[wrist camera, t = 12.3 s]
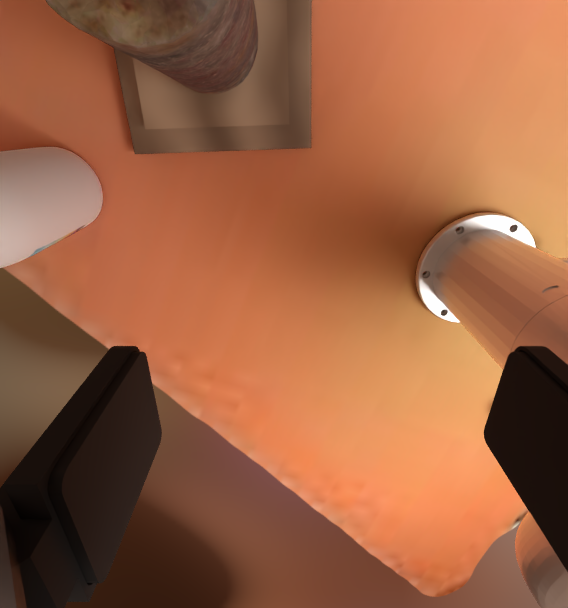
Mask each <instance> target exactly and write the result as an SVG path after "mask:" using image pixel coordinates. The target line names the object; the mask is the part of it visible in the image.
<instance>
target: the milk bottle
mask: <svg viewBox="0 0 568 608" xmlns="http://www.w3.org/2000/svg"><path fill="white" fill-rule="evenodd" d="M102 203H103V192H102V187H101V184H100V182H99V179H98V177H97V175H96V174H95V172H94V170H93V169H92V168H91V167H90V166H89V164H87V163H86V162H85V161H84V160H83V159H82V158H81V157H79V156H78V155H76V154H74V153H73V152H71V151H68V150H66V149H63V148H59V147H37V148H27V149H18V150H10V151H1V152H0V268H2V267H6V266H9V265H12V264H15V263H18V262H20V261H22V260H24V259H26V258H28V257H30V256H32V255H34V254H36V253H38V252H40V251H42V250H44V249H46V248H48V247H50V246H51V245H53V244H55V243H57V242H59V241H61V240H63V239H64V238H66V237H68V236H70V235H72V234H73V233H75V232H77V231H79V230H81V229H82V228H84V227H86V226H87V225H89V224H90V223H92V222H93V221H94V220H95V219H96V218H97V216H98V215H99V213H100V211H101V208H102Z"/></svg>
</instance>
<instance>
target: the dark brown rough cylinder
mask: <svg viewBox="0 0 568 608" xmlns="http://www.w3.org/2000/svg"><path fill="white" fill-rule="evenodd" d="M46 2H47V3H48V5H49V6H50V7H51V8H52V9H53V10H55V11H56V12H57V13H58V14H59V15H60V16H61V17H63V18H64V19H65V20H67V21H68V22H70V23H71V24H72V25H74V26H75V27H77V28H78V29H80V30H82V31H84V32H86V33H88V34H90V35H92V36H94V37H96V38H98V39H99V40H101V41H103V42H105V43H107V44H108V45H110V46H112V47H113V48H115V49H117V50H119V51H121V52H123V53H125V54H127V55H129V56H130V57H133V58H135V59H137V60H139V61H140V62H142V63H144V64H146V65H148V66H150V67H152V68H153V69H155V70H157V71H159V72H161V73H163V74H165V75H167V76H169V77H171V78H172V79H174V80H176V81H177V82H179V83H181V84H182V85H184V86H186V87H188V88H190V89H192V90H194V91H196V92H200V93H204V94H219V93H223V92H226V91H229V90H231V89H233V88H235V87H236V86H238V85H239V84H240V83H242V82H243V81H244V79H245V78H246V77H247V76H248V74H249V72H250V70H251V69H252V66H253V64H254V61H255V58H256V54H257V50H258V26H257V17H256V9H255V4H254V0H46Z"/></svg>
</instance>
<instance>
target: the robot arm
mask: <svg viewBox="0 0 568 608" xmlns="http://www.w3.org/2000/svg"><path fill="white" fill-rule="evenodd" d="M457 227H458V229H457V230H456V228H457ZM423 272H425V273H423ZM416 287H417V291H418V294H419V296H420V298H421V300H422V302H423V303H424V304H425V306H426V307H427V308H428V309H429V310H430V311H431V312H432V313H433V314H434V315H436V316H438V317H439V318H441V319H444V320H447V321H450V322H457V323H461V324H462V325H463V326H464V327H465V328H466V329H467V331H468V332H469V333H470V334H471V335H472V336H473V337H474V338H475V339H476V340H477V341H478V343H479V344H480V345H481V346H482V347H483V348H484V349H485V350H486V351H487V352H488V353H489V355H490V356H491V357H492V358H493V359H494V360H495V361H496V362H497V363H498V364H499V365H500V367H501V368H502V369H503V373H502V376H501V379H500V382H499V385H498V388H497V391H496V394H495V397H494V401H493V404H492V407H491V410H490V413H489V416H488V419H487V422H486V425H485V429H484V438H485V441H486V443H487V445H488V447H489V448H490V450H491V452H492V453H493V455H494V456H495V458H496V460H497V461H498V463H499V464H500V466H501V467H502V469H503V471H504V472H505V474H506V475H507V477H508V479H509V480H510V482H511V483H512V485H513V487H514V488H515V490H516V491H517V493H518V494H519V496H520V498H521V499H522V501H523V502H524V504H525V506H526V507H527V509H528V510H529V512H528V513H527V515H526V516H525V517H524V519H523V520H522V522H521V524H520V526H519V528H518V531H517V535H516V540H515V547H516V557H517V561H518V564H519V567H520V571H521V573H522V576H523V578H524V580H525V582H526V584H527V586H528V588H529V590H530V592H531V593H532V595H533V597H534V598H535V600H536V601H537V603H538V605H539V606H540V607H541V608H568V258H556V257H554V256H551V255H549V254H547V253H545V252H543V251H541V250H539V249H537V248H536V245H535V242H534V239H533V237H532V235H531V233H530V232H529V230H528V229H527V228H526V227H525V226H524V225H523V224H522V223H521V222H519V221H517V220H515V219H513V218H511V217H509V216H506V215H503V214H499V213H493V212H485V213H476V214H471V215H467V216H465V217H462V218H460V219H457V220H455V221H454V222H452V223H450V224H449V225H447V226H446V227H444V228H443V229H442V230H441V231H440V232H438V233H437V234H436V235H435V236H434V237H433V238H432V240H431V241H430V242H429V243H428V244H427V246H426V248H425V249H424V251H423V253H422V254H421V257H420V259H419V262H418V265H417V270H416ZM161 434H162V432H161V425H160V420H159V415H158V410H157V405H156V401H155V396H154V391H153V386H152V381H151V376H150V371H149V366H148V361H147V357H146V354H145V352H140V351H139V349H138V347H136V346H113V347H111V348H110V349H109V351H108V352H107V353H106V354H105V356H104V357H103V358H102V360H101V361H100V362H99V363H98V365H97V366H96V367H95V368H94V370H93V371H92V372H91V373H90V375H89V376H88V377H87V379H86V380H85V381H84V382H83V384H82V385H81V386H80V387H79V389H78V390H77V391H76V392H75V394H74V395H73V396H72V398H71V399H70V400H69V401H68V403H67V404H66V405H65V406H64V408H63V409H62V410H61V412H60V413H59V414H58V415H57V417H56V418H55V419H54V420H53V422H52V423H51V424H50V425H49V427H48V428H47V429H46V430H45V432H44V433H43V434H42V436H41V437H40V438H39V439H38V441H37V442H36V443H35V444H34V446H33V447H32V448H31V450H30V451H29V452H28V453H27V455H26V456H25V457H24V459H23V460H22V461H21V462H20V463H19V465H18V466H17V467H16V468H15V470H14V471H13V472H12V473H11V475H10V476H9V477H8V479H7V480H6V481H5V483H4V484H3V485H2V487H1V488H0V608H64V607H65V605H66V603H67V602H89V601H90V599H91V596H92V594H93V592H94V589H95V587H96V584H97V583H102V582H103V581H104V580H105V579H106V577H107V575H108V573H109V570H110V568H111V565H112V563H113V560H114V558H115V555H116V553H117V550H118V548H119V545H120V543H121V540H122V538H123V535H124V533H125V530H126V528H127V525H128V523H129V520H130V518H131V515H132V513H133V510H134V508H135V505H136V502H137V500H138V497H139V495H140V492H141V490H142V487H143V485H144V482H145V480H146V477H147V475H148V472H149V470H150V467H151V465H152V462H153V460H154V457H155V454H156V452H157V450H158V447H159V445H160V441H161Z"/></svg>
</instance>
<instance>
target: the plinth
mask: <svg viewBox="0 0 568 608" xmlns="http://www.w3.org/2000/svg"><path fill="white" fill-rule="evenodd" d="M254 4H255V9H256V17H257V26H258V50H257V54H256V58H255V61H254V64H253V66H252V69H251V70H250V72H249V74H248V76H247V77H246V78H245V79H244V81H243V82H242V83H240V84H239V85H238V86H236V87H235V88H233V89H231V90H229V91H226V92H223V93H219V94H204V93H200V92H196V91H194V90H192V89H190V88H188V87H186V86H184V85H182V84H181V83H179V82H177V81H176V80H174V79H172V78H171V77H169V76H167V75H165V74H163V73H161V72H159V71H157V70H155V69H153V68H152V67H150V66H148V65H146V64H144V63H142V62H140V61H139V60H137V59H135V58H133V57H130V56H129V55H127V54H125V53H123V52H121V51H119V50H117V49H115V48H114V53H115V57H116V62H117V67H118V72H119V77H120V82H121V87H122V92H123V97H124V102H125V107H126V112H127V117H128V122H129V127H130V132H131V137H132V142H133V147H134V152H135V154H153V153H181V152H210V151H239V150H268V149H297V148H311V14H312V0H254Z"/></svg>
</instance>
